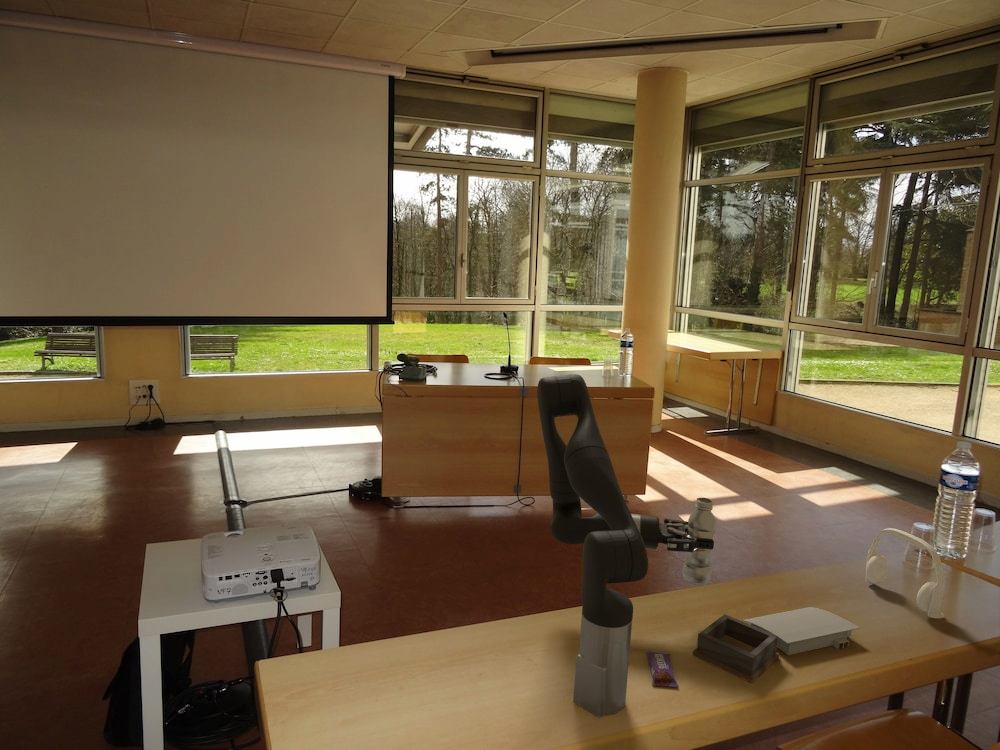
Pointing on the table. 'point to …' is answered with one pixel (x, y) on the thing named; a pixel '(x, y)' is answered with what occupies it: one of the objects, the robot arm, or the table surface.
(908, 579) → the table surface
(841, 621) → the white router
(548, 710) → the table surface
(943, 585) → the headset
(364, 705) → the table surface
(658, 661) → the snack package
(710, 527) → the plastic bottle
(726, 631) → the open square tray
